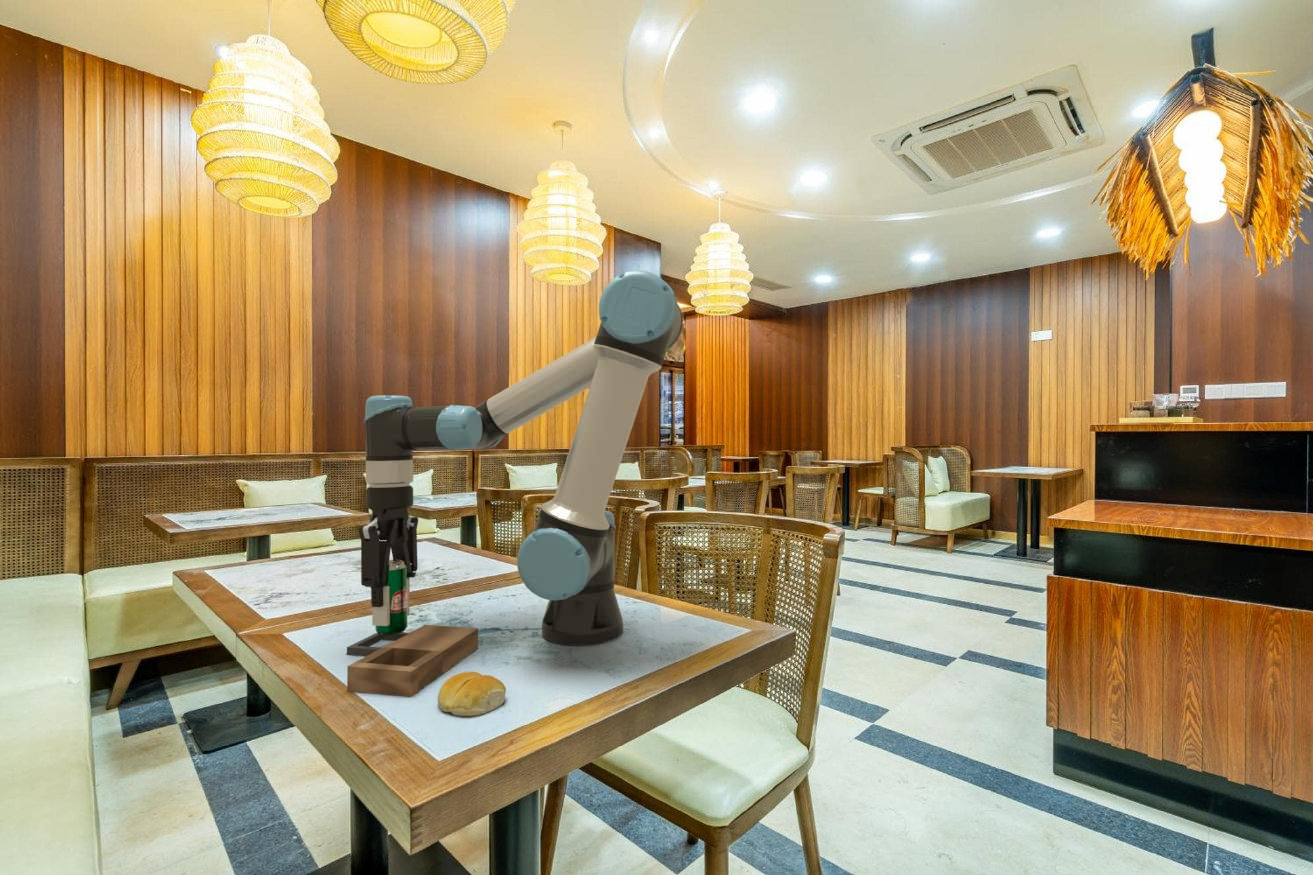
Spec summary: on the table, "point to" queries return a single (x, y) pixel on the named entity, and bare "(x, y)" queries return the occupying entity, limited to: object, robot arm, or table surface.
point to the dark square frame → (363, 645)
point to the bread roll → (471, 694)
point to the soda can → (396, 598)
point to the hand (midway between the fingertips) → (391, 619)
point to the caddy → (412, 660)
